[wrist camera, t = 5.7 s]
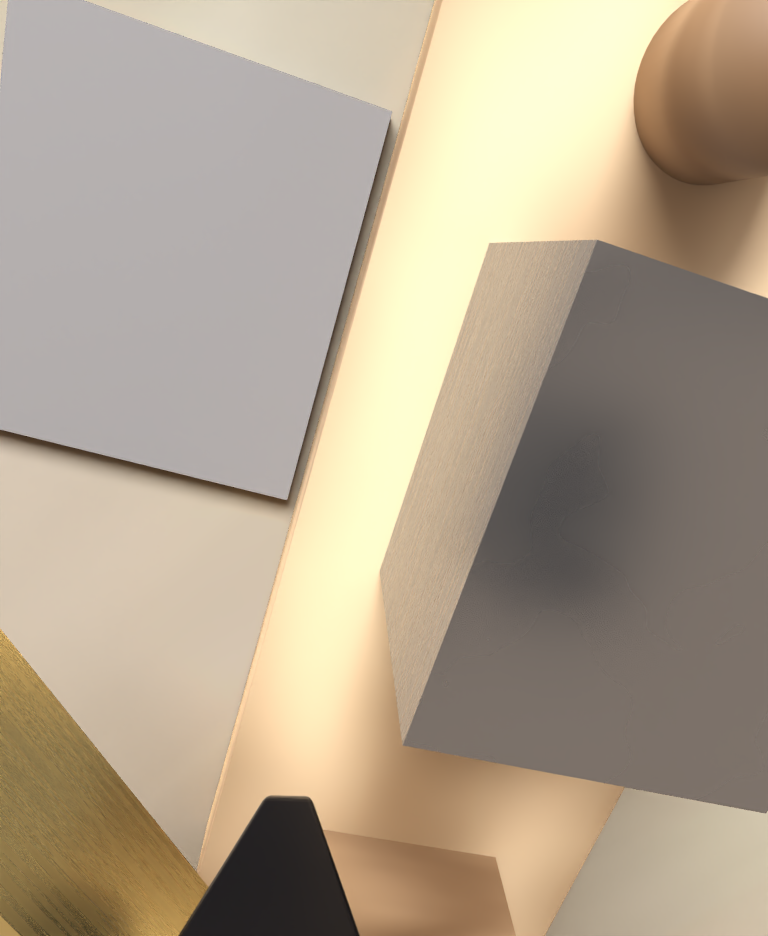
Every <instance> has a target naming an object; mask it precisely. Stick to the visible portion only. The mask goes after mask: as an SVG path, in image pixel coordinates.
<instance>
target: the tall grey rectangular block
mask: <svg viewBox="0 0 768 936" xmlns="http://www.w3.org/2000/svg"><path fill="white" fill-rule="evenodd" d="M380 578H381V586H382V594H383V601H384V609H385V616H386V624H387V632H388V639H389V647H390V654H391V662H392V670H393V677H394V685H395V692H396V700H397V708H398V715H399V723H400V730H401V738H402V745H403V746H408V747H413V748H419V749H424V750H429V751H435V752H440V753H445V754H451V755H456V756H462V757H467V758H472V759H478V760H483V761H488V762H494V763H499V764H504V765H510V766H515V767H520V768H526V769H531V770H536V771H542V772H547V773H553V774H558V775H563V776H569V777H574V778H579V779H585V780H590V781H595V782H601V783H606V784H611V785H617V786H622V787H627V788H633V789H638V790H644V791H649V792H654V793H660V794H665V795H670V796H676V797H681V798H686V799H692V800H697V801H702V802H708V803H713V804H718V805H724V806H729V807H735V808H740V809H745V810H751V811H756V812H761V813H766V812H767V811H768V298H766V297H763V296H760V295H757V294H754V293H751V292H748V291H745V290H742V289H739V288H737V287H734V286H731V285H728V284H725V283H722V282H719V281H716V280H713V279H710V278H708V277H705V276H702V275H699V274H696V273H693V272H690V271H687V270H684V269H681V268H678V267H676V266H673V265H670V264H667V263H664V262H661V261H658V260H655V259H652V258H649V257H647V256H644V255H641V254H638V253H635V252H632V251H629V250H626V249H623V248H620V247H618V246H615V245H612V244H609V243H606V242H603V241H600V240H567V241H533V242H499V243H489V245H488V248H487V251H486V254H485V257H484V260H483V263H482V266H481V269H480V272H479V275H478V278H477V281H476V284H475V287H474V290H473V293H472V296H471V299H470V302H469V305H468V308H467V311H466V314H465V317H464V320H463V323H462V326H461V329H460V332H459V335H458V338H457V341H456V344H455V347H454V350H453V353H452V356H451V359H450V362H449V365H448V368H447V371H446V374H445V377H444V380H443V383H442V386H441V389H440V392H439V395H438V398H437V401H436V404H435V407H434V410H433V413H432V416H431V419H430V422H429V425H428V428H427V431H426V434H425V437H424V440H423V443H422V446H421V449H420V452H419V455H418V458H417V461H416V464H415V467H414V470H413V473H412V476H411V479H410V482H409V485H408V488H407V491H406V494H405V497H404V500H403V503H402V506H401V509H400V512H399V515H398V518H397V521H396V524H395V527H394V530H393V533H392V536H391V539H390V542H389V545H388V547H387V550H386V553H385V556H384V559H383V562H382V565H381V568H380Z"/></svg>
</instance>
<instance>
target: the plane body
mask: <svg viewBox="0 0 768 936" xmlns="http://www.w3.org/2000/svg"><path fill="white" fill-rule="evenodd" d="M567 240H600V241H603V242H606V243H609V244H612V245H615V246H618V247H620V248H623V249H626V250H629V251H632V252H635V253H638V254H641V255H644V256H647V257H649V258H652V259H655V260H658V261H661V262H664V263H667V264H670V265H673V266H676V267H678V268H681V269H684V270H687V271H690V272H693V273H696V274H699V275H702V276H705V277H708V278H710V279H713V280H716V281H719V282H722V283H725V284H728V285H731V286H734V287H737V288H739V289H742V290H745V291H748V292H751V293H754V294H757V295H760V296H763V297H766V298H768V0H435V1H434V5H433V8H432V12H431V16H430V19H429V23H428V26H427V30H426V34H425V37H424V41H423V45H422V48H421V52H420V55H419V59H418V63H417V66H416V70H415V74H414V77H413V81H412V84H411V88H410V92H409V95H408V99H407V103H406V106H405V110H404V113H403V117H402V121H401V124H400V128H399V131H398V135H397V139H396V142H395V146H394V150H393V153H392V157H391V160H390V164H389V168H388V171H387V175H386V179H385V182H384V186H383V189H382V193H381V197H380V200H379V204H378V208H377V211H376V215H375V218H374V222H373V226H372V229H371V233H370V237H369V240H368V244H367V247H366V251H365V255H364V258H363V262H362V266H361V269H360V273H359V276H358V280H357V284H356V287H355V291H354V295H353V298H352V302H351V305H350V309H349V313H348V316H347V320H346V324H345V327H344V331H343V334H342V338H341V342H340V345H339V349H338V352H337V356H336V360H335V363H334V367H333V371H332V374H331V378H330V381H329V385H328V389H327V392H326V396H325V400H324V403H323V407H322V410H321V414H320V418H319V421H318V425H317V429H316V432H315V436H314V439H313V443H312V447H311V450H310V454H309V458H308V461H307V465H306V468H305V472H304V476H303V479H302V483H301V487H300V490H299V494H298V497H297V501H296V505H295V508H294V512H293V516H292V519H291V523H290V526H289V530H288V534H287V537H286V541H285V544H284V548H283V552H282V555H281V559H280V563H279V566H278V570H277V573H276V577H275V581H274V584H273V588H272V592H271V595H270V599H269V602H268V606H267V610H266V613H265V617H264V621H263V624H262V628H261V631H260V635H259V639H258V642H257V646H256V650H255V653H254V657H253V660H252V664H251V668H250V671H249V675H248V679H247V682H246V686H245V689H244V693H243V697H242V700H241V704H240V708H239V711H238V715H237V718H236V722H235V726H234V729H233V733H232V737H231V740H230V744H229V747H228V751H227V755H226V758H225V762H224V765H223V769H222V773H221V776H220V780H219V784H218V787H217V791H216V794H215V798H214V802H213V805H212V809H211V813H210V816H209V820H208V823H207V828H206V832H205V836H204V841H203V845H202V850H201V854H200V859H199V863H198V868H197V873H198V875H199V876H200V877H201V878H202V880H203V881H204V882H205V883H206V885H207V886H208V887H209V886H210V884H211V882H212V881H213V879H214V878H215V876H216V874H217V873H218V871H219V870H220V868H221V866H222V865H223V863H224V861H225V860H226V858H227V857H228V855H229V853H230V852H231V850H232V849H233V847H234V845H235V844H236V842H237V841H238V839H239V837H240V836H241V834H242V833H243V831H244V829H245V828H246V826H247V825H248V823H249V821H250V820H251V818H252V817H253V815H254V813H255V812H256V810H257V809H258V807H259V805H260V804H261V802H262V801H263V800H264V799H265V798H266V797H267V796H270V795H283V796H308V797H310V798H311V800H312V801H313V803H314V806H315V809H316V812H317V815H318V818H319V820H320V823H321V826H322V829H323V832H324V835H325V837H326V840H327V843H328V846H329V849H330V852H331V854H332V857H333V860H334V863H335V866H336V869H337V872H338V874H339V877H340V880H341V883H342V886H343V889H344V891H345V894H346V897H347V900H348V903H349V906H350V908H351V911H352V914H353V917H354V920H355V923H356V926H357V928H358V931H359V934H360V936H545V934H546V932H547V930H548V929H549V927H550V925H551V923H552V921H553V919H554V917H555V916H556V914H557V912H558V910H559V908H560V906H561V904H562V903H563V901H564V899H565V897H566V895H567V893H568V891H569V890H570V888H571V886H572V884H573V882H574V880H575V879H576V877H577V875H578V873H579V871H580V869H581V867H582V866H583V864H584V862H585V860H586V858H587V856H588V854H589V853H590V851H591V849H592V847H593V845H594V843H595V841H596V840H597V838H598V836H599V834H600V832H601V830H602V829H603V827H604V825H605V823H606V821H607V819H608V817H609V816H610V814H611V812H612V810H613V808H614V806H615V804H616V803H617V801H618V799H619V797H620V795H621V793H622V791H623V790H624V788H625V787H622V786H617V785H611V784H606V783H601V782H595V781H590V780H585V779H579V778H574V777H569V776H563V775H558V774H553V773H547V772H542V771H536V770H531V769H526V768H520V767H515V766H510V765H504V764H499V763H494V762H488V761H483V760H478V759H472V758H467V757H462V756H456V755H451V754H445V753H440V752H435V751H429V750H424V749H419V748H413V747H408V746H403V745H402V738H401V730H400V723H399V715H398V708H397V700H396V692H395V685H394V677H393V670H392V662H391V654H390V647H389V639H388V632H387V624H386V616H385V609H384V601H383V594H382V586H381V578H380V568H381V565H382V562H383V559H384V556H385V553H386V550H387V547H388V545H389V542H390V539H391V536H392V533H393V530H394V527H395V524H396V521H397V518H398V515H399V512H400V509H401V506H402V503H403V500H404V497H405V494H406V491H407V488H408V485H409V482H410V479H411V476H412V473H413V470H414V467H415V464H416V461H417V458H418V455H419V452H420V449H421V446H422V443H423V440H424V437H425V434H426V431H427V428H428V425H429V422H430V419H431V416H432V413H433V410H434V407H435V404H436V401H437V398H438V395H439V392H440V389H441V386H442V383H443V380H444V377H445V374H446V371H447V368H448V365H449V362H450V359H451V356H452V353H453V350H454V347H455V344H456V341H457V338H458V335H459V332H460V329H461V326H462V323H463V320H464V317H465V314H466V311H467V308H468V305H469V302H470V299H471V296H472V293H473V290H474V287H475V284H476V281H477V278H478V275H479V272H480V269H481V266H482V263H483V260H484V257H485V254H486V251H487V248H488V245H489V243H499V242H533V241H567Z"/></svg>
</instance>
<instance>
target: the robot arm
mask: <svg viewBox="0 0 768 936" xmlns="http://www.w3.org/2000/svg"><path fill="white" fill-rule="evenodd" d="M178 936H360V934H359V931H358V928H357V926H356V923H355V920H354V917H353V914H352V911H351V908H350V906H349V903H348V900H347V897H346V894H345V891H344V889H343V886H342V883H341V880H340V877H339V874H338V872H337V869H336V866H335V863H334V860H333V857H332V854H331V852H330V849H329V846H328V843H327V840H326V837H325V835H324V832H323V829H322V826H321V823H320V820H319V818H318V815H317V812H316V809H315V806H314V803H313V801H312V800H311V798H310V797H308V796H283V795H270V796H267V797H266V798H265V799H264V800H263V801H262V802H261V804H260V805H259V807H258V809H257V810H256V812H255V813H254V815H253V817H252V818H251V820H250V821H249V823H248V825H247V826H246V828H245V829H244V831H243V833H242V834H241V836H240V837H239V839H238V841H237V842H236V844H235V845H234V847H233V849H232V850H231V852H230V853H229V855H228V857H227V858H226V860H225V861H224V863H223V865H222V866H221V868H220V870H219V871H218V873H217V874H216V876H215V878H214V879H213V881H212V882H211V884H210V886H209V887H208V889H207V890H206V892H205V894H204V895H203V897H202V898H201V900H200V902H199V903H198V905H197V906H196V908H195V910H194V911H193V913H192V914H191V916H190V918H189V919H188V921H187V922H186V924H185V926H184V927H183V929H182V931H181V932H180V934H179V935H178Z"/></svg>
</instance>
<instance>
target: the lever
mask: <svg viewBox="0 0 768 936" xmlns="http://www.w3.org/2000/svg"><path fill="white" fill-rule="evenodd" d="M207 889H208V886H207V885H206V883H205V882H204V881H203V880H202V878H201V877H200V876H199V875H198V873H197V872H196V871H195V870H194V868H193V867H192V866H191V865H190V863H189V862H188V861H187V860H186V858H185V857H184V856H183V855H182V854H181V852H180V851H179V850H178V849H177V847H176V846H175V845H174V844H173V842H172V841H171V840H170V839H169V837H168V836H167V835H166V834H165V832H164V831H163V830H162V829H161V827H160V826H159V825H158V824H157V823H156V821H155V820H154V819H153V818H152V816H151V815H150V814H149V813H148V811H147V810H146V809H145V808H144V806H143V805H142V804H141V803H140V801H139V800H138V799H137V798H136V796H135V795H134V794H133V793H132V792H131V790H130V789H129V788H128V787H127V785H126V784H125V783H124V782H123V780H122V779H121V778H120V777H119V775H118V774H117V773H116V772H115V770H114V769H113V768H112V767H111V765H110V764H109V763H108V762H107V761H106V759H105V758H104V757H103V756H102V754H101V753H100V752H99V751H98V749H97V748H96V747H95V746H94V744H93V743H92V742H91V741H90V739H89V738H88V737H87V736H86V734H85V733H84V732H83V731H82V730H81V728H80V727H79V726H78V725H77V723H76V722H75V721H74V720H73V718H72V717H71V716H70V715H69V713H68V712H67V711H66V710H65V708H64V707H63V706H62V705H61V703H60V702H59V701H58V700H57V699H56V697H55V696H54V695H53V694H52V692H51V691H50V690H49V689H48V687H47V686H46V685H45V684H44V682H43V681H42V680H41V679H40V677H39V676H38V675H37V674H36V672H35V671H34V670H33V669H32V668H31V666H30V665H29V664H28V663H27V661H26V660H25V659H24V658H23V656H22V655H21V654H20V653H19V651H18V650H17V649H16V648H15V646H14V645H13V644H12V643H11V641H10V640H9V639H8V638H7V636H6V635H5V634H4V633H3V632H2V630H1V629H0V936H178V935H179V934H180V932H181V931H182V929H183V927H184V926H185V924H186V922H187V921H188V919H189V918H190V916H191V914H192V913H193V911H194V910H195V908H196V906H197V905H198V903H199V902H200V900H201V898H202V897H203V895H204V894H205V892H206V890H207Z"/></svg>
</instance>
